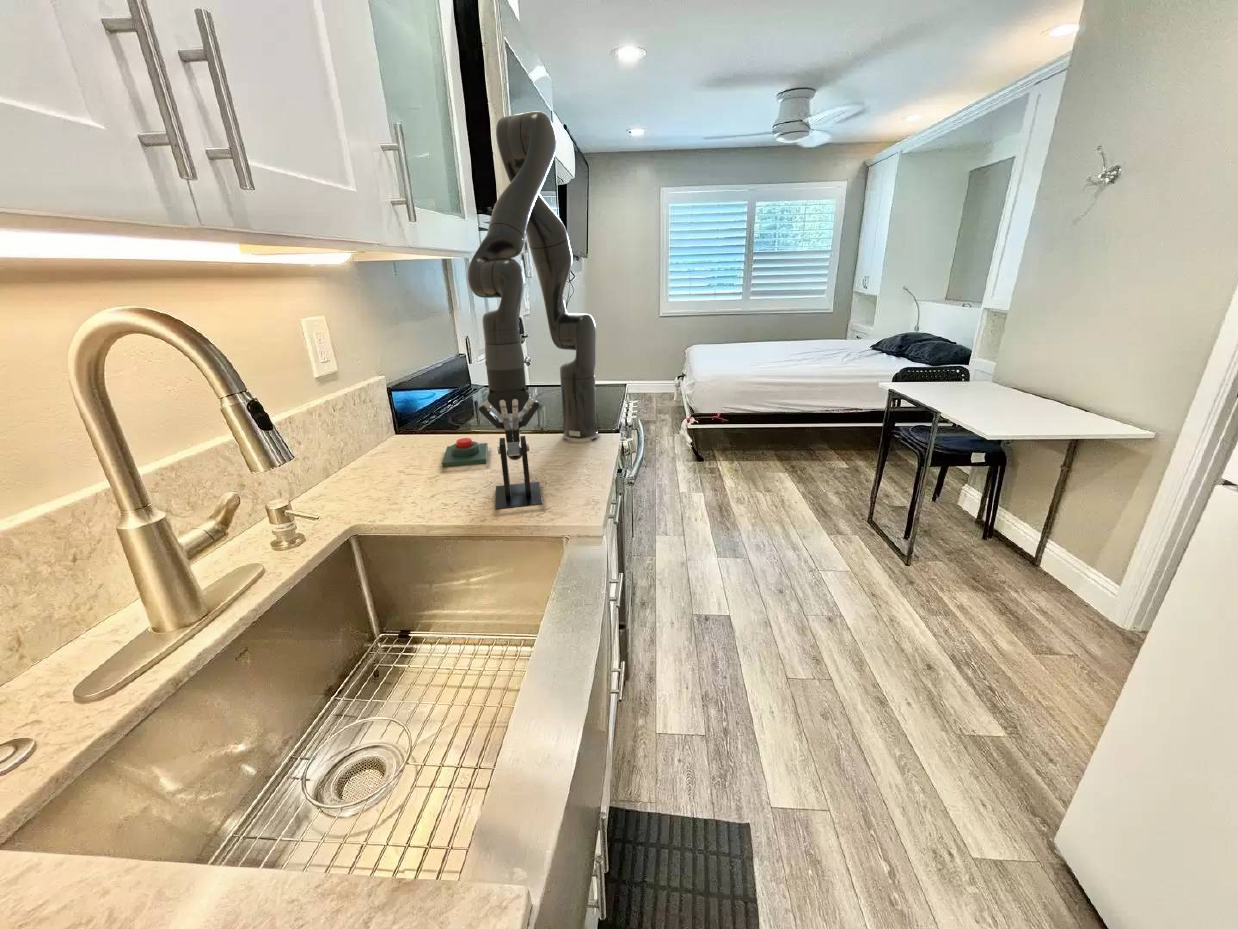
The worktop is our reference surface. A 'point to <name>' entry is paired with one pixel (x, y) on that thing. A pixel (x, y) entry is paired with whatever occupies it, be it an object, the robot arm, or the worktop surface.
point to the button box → (465, 455)
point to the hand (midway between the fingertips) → (513, 445)
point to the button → (464, 443)
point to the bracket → (516, 492)
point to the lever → (514, 451)
